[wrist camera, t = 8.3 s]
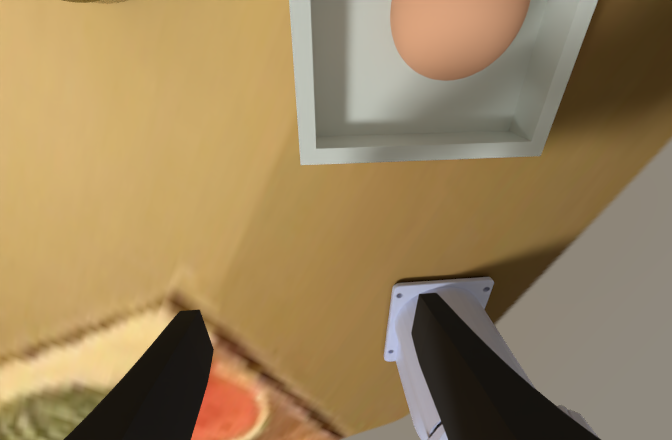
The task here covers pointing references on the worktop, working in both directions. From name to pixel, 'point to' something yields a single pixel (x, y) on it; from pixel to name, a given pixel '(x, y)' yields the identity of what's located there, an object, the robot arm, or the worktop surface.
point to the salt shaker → (97, 1)
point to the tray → (425, 87)
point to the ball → (454, 34)
